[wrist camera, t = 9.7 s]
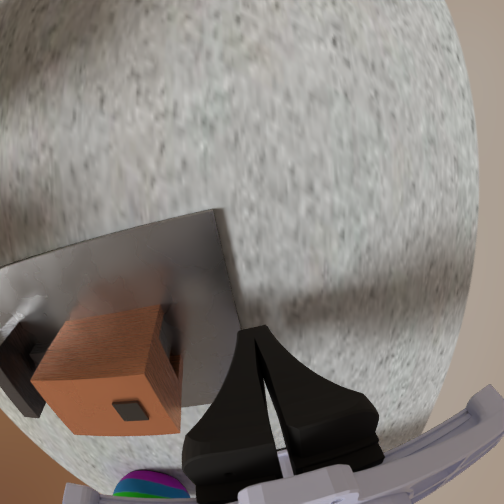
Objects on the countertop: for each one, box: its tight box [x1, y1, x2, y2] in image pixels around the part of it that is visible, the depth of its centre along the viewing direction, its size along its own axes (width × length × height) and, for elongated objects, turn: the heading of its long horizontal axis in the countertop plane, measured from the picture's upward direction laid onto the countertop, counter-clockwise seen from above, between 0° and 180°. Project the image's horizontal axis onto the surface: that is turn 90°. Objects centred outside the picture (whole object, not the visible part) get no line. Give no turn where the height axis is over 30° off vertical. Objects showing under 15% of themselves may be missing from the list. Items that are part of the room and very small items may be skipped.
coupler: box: [0, 209, 241, 418], centre depth 13 cm, size 12×16×4 cm
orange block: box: [30, 304, 183, 436], centre depth 12 cm, size 4×6×5 cm, turn 100°
